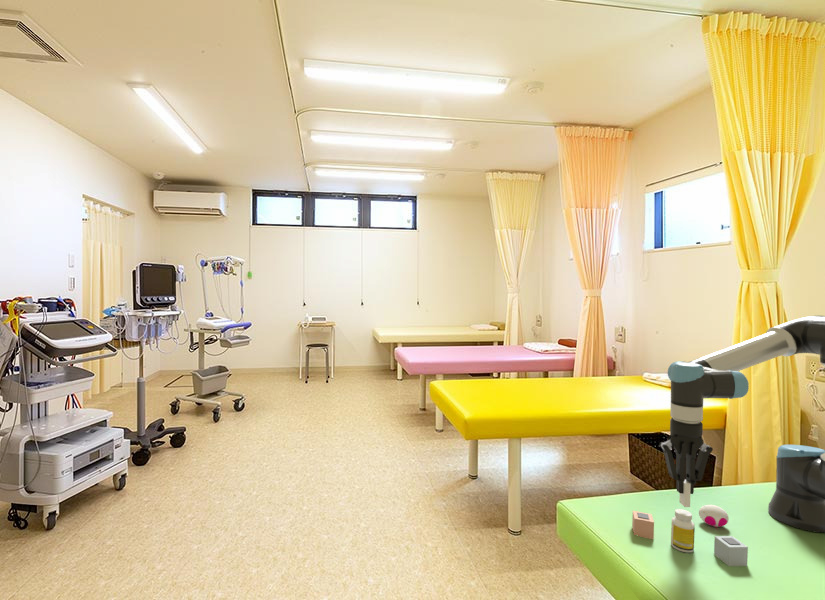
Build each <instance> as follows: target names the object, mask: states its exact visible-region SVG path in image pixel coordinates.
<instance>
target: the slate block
mask: <svg viewBox="0 0 825 600" xmlns="http://www.w3.org/2000/svg"><path fill="white" fill-rule="evenodd" d="M713 542H714V545H713V546H714V548H713V555H714V556H715V557H716V558H718V559H719V560H721V561H722V563H724V564H725V565H726V566H728V567H748V556H749V555H748V554H749V552H748V551H749V549H748V548H749V546H747V545H746V544H744V543H743V542H741V541H740V540H739V539H737V538H736V537H734V536H733V535H719V536H717V535H715V536H714V541H713Z"/></svg>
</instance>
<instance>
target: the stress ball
mask: <svg viewBox="0 0 825 600" xmlns="http://www.w3.org/2000/svg"><path fill="white" fill-rule="evenodd" d="M698 516H699V518H700V519H701V520H702V522H704V523H706V524H707V525H709V526H711V527H715V529H716V530H717V531H719V530H718V527H721V528H722V527H724V526H726V525H727V524H728V523H729V519H730V517H729V514H728V512H726V510H724V509H723V508H722V507H720V506H718V505H714V504H705V505H702V506H701V507H700V508H699V510H698Z"/></svg>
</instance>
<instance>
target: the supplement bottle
mask: <svg viewBox="0 0 825 600" xmlns="http://www.w3.org/2000/svg"><path fill="white" fill-rule="evenodd" d="M695 529H696V527H695V523H694V521H693V514H692V513H691V512H690V511H688V510H686V509H682V508H676V509H675V510H674V516H673V517H672V518H671V529H670V530H671V531H670V532H671V533H670V544H671V546H672V548H674V549H676V550H677V551H679V552H683V553H693V552H694V551H695V550H694V549H695V533H696V532H695Z"/></svg>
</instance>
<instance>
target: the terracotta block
mask: <svg viewBox="0 0 825 600" xmlns="http://www.w3.org/2000/svg"><path fill="white" fill-rule="evenodd" d="M631 519H632V520H631V522H632V523H631V525H632V526H631V527H633V528H632V532H634V533H633V536H635V535H638V536H637V537H639V536H640V538H645V539H649V540H654V539H655V538H654V537H655V534H654V533H655V520H654V517H653V514H652V513H648V512H647V513H646V512H642V511H637V510H632V518H631Z"/></svg>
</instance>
